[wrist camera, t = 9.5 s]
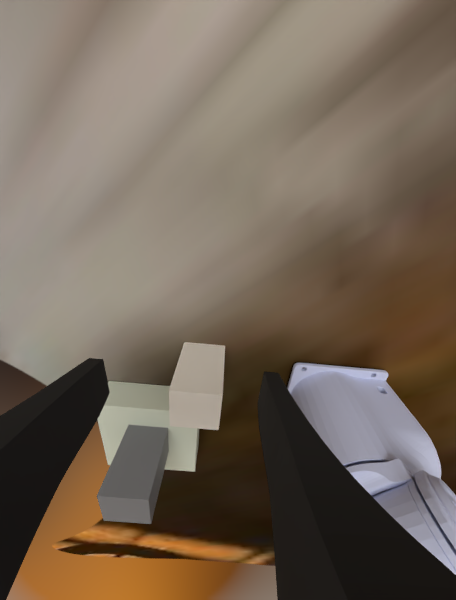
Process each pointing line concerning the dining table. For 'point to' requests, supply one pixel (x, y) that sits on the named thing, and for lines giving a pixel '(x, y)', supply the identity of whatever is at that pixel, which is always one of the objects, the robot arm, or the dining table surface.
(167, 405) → the sage board
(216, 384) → the off-white pillar
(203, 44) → the dining table surface
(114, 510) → the grey rectangular prism
